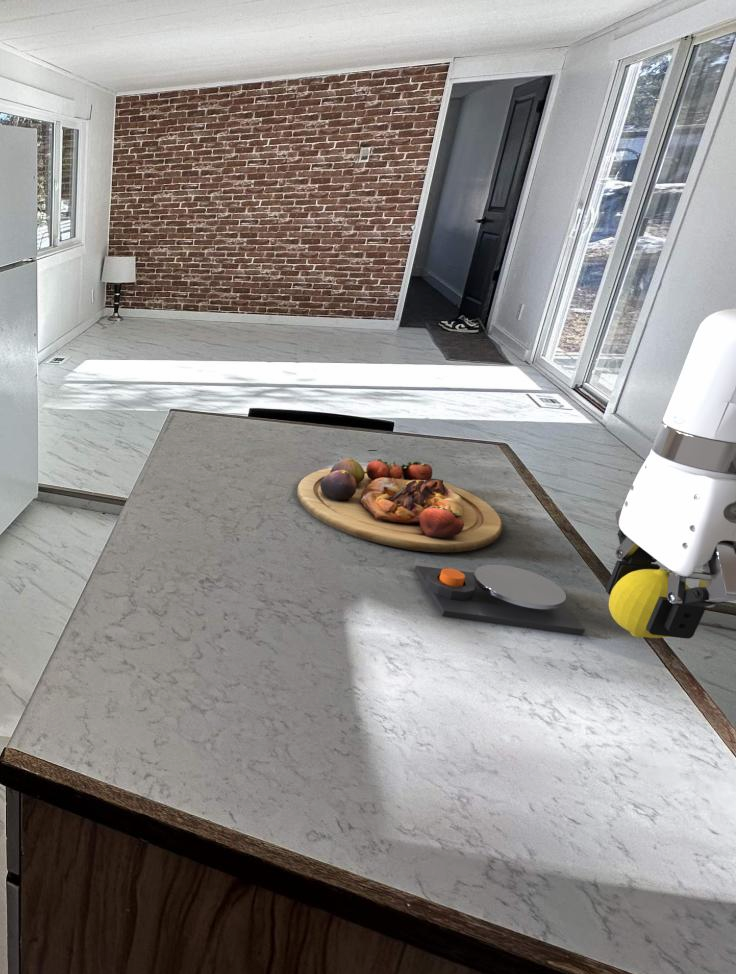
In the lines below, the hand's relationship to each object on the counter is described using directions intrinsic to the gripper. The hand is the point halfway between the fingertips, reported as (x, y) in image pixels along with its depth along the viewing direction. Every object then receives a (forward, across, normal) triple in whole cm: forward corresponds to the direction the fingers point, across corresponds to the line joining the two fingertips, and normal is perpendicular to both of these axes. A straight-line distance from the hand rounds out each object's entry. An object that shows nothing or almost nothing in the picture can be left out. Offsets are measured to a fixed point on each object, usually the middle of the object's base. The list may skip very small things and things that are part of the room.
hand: (646, 613), depth 64 cm
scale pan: (+15, +27, -4) cm, 32 cm away
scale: (+19, +28, -1) cm, 33 cm away
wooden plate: (+19, +56, +3) cm, 60 cm away
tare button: (+15, +28, +4) cm, 32 cm away
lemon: (+3, 0, 0) cm, 3 cm away
